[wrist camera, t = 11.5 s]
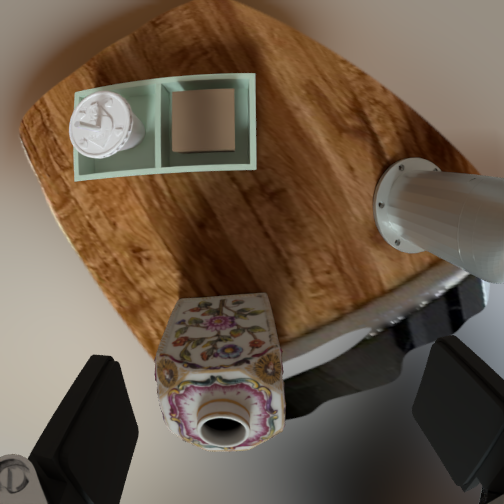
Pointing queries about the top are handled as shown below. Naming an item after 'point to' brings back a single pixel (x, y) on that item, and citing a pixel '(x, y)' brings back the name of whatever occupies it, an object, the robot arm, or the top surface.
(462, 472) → the robot arm
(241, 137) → the tote
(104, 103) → the white cup
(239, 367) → the decorative jar
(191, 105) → the walnut block
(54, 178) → the top surface
